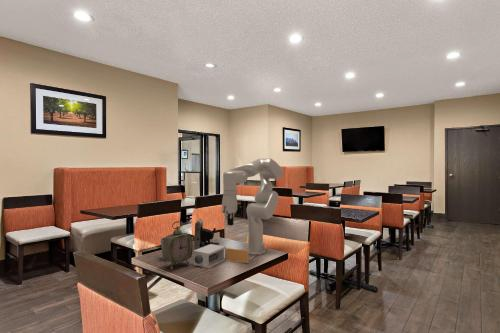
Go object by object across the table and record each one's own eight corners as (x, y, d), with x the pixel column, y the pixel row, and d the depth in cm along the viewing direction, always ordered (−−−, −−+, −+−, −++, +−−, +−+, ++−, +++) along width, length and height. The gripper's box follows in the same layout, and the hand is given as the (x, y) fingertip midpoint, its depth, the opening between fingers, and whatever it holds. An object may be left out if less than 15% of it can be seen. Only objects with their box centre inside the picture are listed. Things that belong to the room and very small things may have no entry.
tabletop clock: (170, 271, 155) (170, 224, 155) (161, 267, 161) (161, 222, 161) (192, 264, 166) (192, 220, 166) (183, 261, 172) (182, 218, 172)
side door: (224, 259, 172) (224, 248, 172) (226, 258, 174) (226, 247, 174) (247, 262, 167) (247, 251, 167) (249, 261, 169) (249, 250, 169)
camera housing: (210, 257, 179) (210, 244, 179) (225, 260, 174) (225, 246, 174) (191, 265, 164) (191, 251, 164) (207, 269, 158) (207, 254, 158)
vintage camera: (217, 253, 189) (218, 222, 189) (193, 252, 189) (194, 221, 190) (219, 249, 199) (220, 219, 199) (196, 248, 199) (197, 218, 199)
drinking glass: (173, 261, 171) (173, 240, 171) (157, 260, 173) (157, 240, 173) (180, 256, 181) (180, 236, 181) (165, 255, 183) (165, 236, 183)
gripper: (231, 191, 176) (231, 221, 177) (217, 194, 163) (217, 227, 164) (242, 192, 173) (242, 223, 173) (228, 194, 160) (228, 228, 160)
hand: (230, 224), depth 168 cm, fingers closed
